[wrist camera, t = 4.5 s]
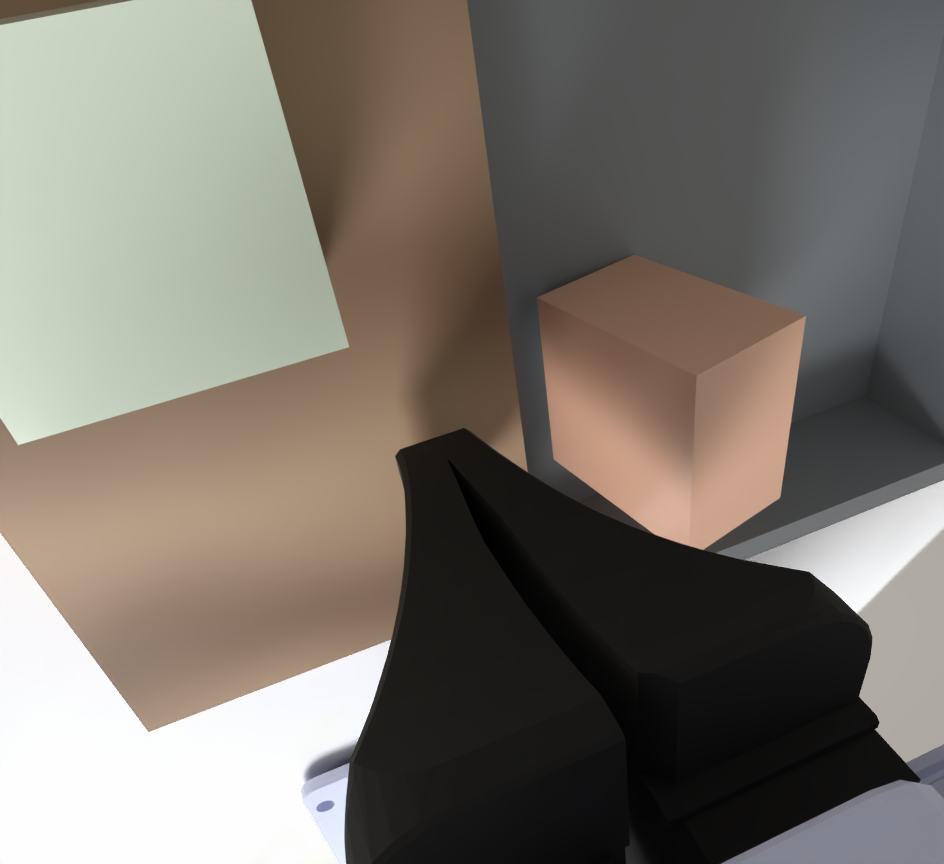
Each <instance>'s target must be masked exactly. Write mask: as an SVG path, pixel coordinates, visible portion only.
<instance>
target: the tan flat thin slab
mask: <svg viewBox="0 0 944 864" xmlns="http://www.w3.org/2000/svg"><path fill="white" fill-rule="evenodd" d="M95 1H100V0H0V19H3V18H9V17H14V16H19V15H25V14H30V13H35V12H41V11H46V10H52V9H57V8H62V7H68V6H73V5H78V4H84V3H89V2H95ZM251 1H252V5H253V8H254V12H255V15H256V19H257V22H258V26H259V29H260V33H261V37H262V40H263V44H264V47H265V51H266V54H267V58H268V61H269V65H270V68H271V72H272V75H273V79H274V83H275V86H276V90H277V93H278V97H279V100H280V104H281V107H282V111H283V114H284V118H285V121H286V125H287V128H288V132H289V136H290V139H291V143H292V146H293V150H294V153H295V157H296V160H297V164H298V167H299V171H300V174H301V178H302V182H303V185H304V189H305V192H306V196H307V199H308V203H309V206H310V210H311V213H312V217H313V220H314V224H315V228H316V231H317V235H318V238H319V242H320V245H321V249H322V252H323V256H324V259H325V263H326V266H327V270H328V274H329V277H330V281H331V284H332V288H333V291H334V295H335V298H336V302H337V305H338V309H339V312H340V316H341V320H342V323H343V327H344V330H345V334H346V337H347V341H348V344H349V347H348V348H345V349H341V350H338V351H335V352H331V353H328V354H325V355H321V356H318V357H314V358H311V359H308V360H304V361H301V362H297V363H294V364H291V365H287V366H284V367H281V368H277V369H274V370H270V371H267V372H264V373H260V374H257V375H254V376H250V377H247V378H243V379H240V380H237V381H233V382H230V383H226V384H223V385H220V386H216V387H213V388H210V389H206V390H203V391H199V392H196V393H193V394H189V395H186V396H183V397H179V398H176V399H172V400H169V401H166V402H162V403H159V404H156V405H152V406H149V407H145V408H142V409H139V410H135V411H132V412H128V413H125V414H122V415H118V416H115V417H112V418H108V419H105V420H101V421H98V422H95V423H91V424H88V425H85V426H81V427H78V428H74V429H71V430H68V431H64V432H61V433H58V434H54V435H51V436H47V437H44V438H41V439H37V440H34V441H30V442H27V443H24V444H20V445H18V444H17V442H16V441H15V439H14V438H13V436H12V435H11V433H10V432H9V430H8V429H7V427H6V426H5V424H4V423H3V421H2V420H1V418H0V533H1V534H2V536H3V537H4V538H5V540H6V541H7V542H8V544H9V545H10V546H11V548H12V549H13V550H14V552H15V553H16V554H17V556H18V557H19V558H20V560H21V561H22V562H23V564H24V565H25V566H26V568H27V569H28V570H29V572H30V573H31V574H32V576H33V577H34V579H35V580H36V581H37V583H38V584H39V585H40V587H41V588H42V589H43V591H44V592H45V593H46V595H47V596H48V597H49V599H50V600H51V601H52V603H53V604H54V605H55V607H56V608H57V609H58V611H59V612H60V613H61V615H62V616H63V617H64V619H65V620H66V622H67V623H68V624H69V626H70V627H71V628H72V630H73V631H74V632H75V634H76V635H77V636H78V638H79V639H80V640H81V642H82V643H83V644H84V646H85V647H86V648H87V650H88V651H89V652H90V654H91V655H92V656H93V658H94V659H95V660H96V662H97V663H98V664H99V666H100V667H101V669H102V670H103V671H104V673H105V674H106V675H107V677H108V678H109V679H110V681H111V682H112V683H113V685H114V686H115V687H116V689H117V690H118V691H119V693H120V694H121V695H122V697H123V698H124V699H125V701H126V702H127V703H128V705H129V706H130V707H131V709H132V710H133V712H134V713H135V714H136V716H137V717H138V718H139V720H140V721H141V722H142V724H143V725H144V726H145V728H146V729H147V730H148V732H150V731H152V730H155V729H157V728H160V727H163V726H165V725H168V724H171V723H173V722H176V721H178V720H181V719H184V718H186V717H189V716H191V715H194V714H197V713H199V712H202V711H205V710H207V709H210V708H212V707H215V706H218V705H220V704H223V703H226V702H228V701H231V700H233V699H236V698H239V697H241V696H244V695H246V694H249V693H252V692H254V691H257V690H260V689H262V688H265V687H267V686H270V685H273V684H275V683H278V682H281V681H283V680H286V679H288V678H291V677H294V676H296V675H299V674H301V673H304V672H307V671H309V670H312V669H315V668H317V667H320V666H322V665H325V664H328V663H330V662H333V661H336V660H338V659H341V658H343V657H346V656H349V655H351V654H354V653H356V652H359V651H362V650H364V649H367V648H370V647H372V646H375V645H377V644H380V643H383V642H385V641H388V640H391V639H392V634H393V630H394V625H395V620H396V615H397V610H398V605H399V599H400V592H401V585H402V577H403V568H404V555H405V537H406V514H405V494H404V488H403V484H402V480H401V477H400V473H399V469H398V466H397V462H396V458H395V456H396V454H397V453H398V451H399V450H400V449H402V448H405V447H408V446H411V445H414V444H417V443H420V442H423V441H426V440H429V439H432V438H435V437H438V436H441V435H444V434H447V433H450V432H453V431H456V430H459V429H462V428H465V429H467V430H469V431H471V432H472V433H473V434H475V435H476V436H477V437H478V438H480V439H481V440H482V441H484V442H485V443H486V444H488V445H489V446H490V447H492V448H493V449H495V450H496V451H497V452H499V453H500V454H502V455H503V456H504V457H506V458H507V459H509V460H510V461H512V462H513V463H515V464H516V465H518V466H519V467H521V468H522V469H524V470H525V471H527V472H528V470H527V462H526V455H525V447H524V439H523V431H522V424H521V416H520V408H519V400H518V393H517V385H516V377H515V369H514V362H513V354H512V346H511V338H510V330H509V323H508V315H507V307H506V299H505V292H504V284H503V276H502V268H501V261H500V253H499V245H498V237H497V229H496V222H495V214H494V206H493V198H492V191H491V183H490V175H489V167H488V160H487V152H486V144H485V136H484V128H483V121H482V113H481V105H480V97H479V90H478V82H477V74H476V66H475V59H474V51H473V43H472V35H471V28H470V20H469V12H468V4H467V0H251Z"/></svg>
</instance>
